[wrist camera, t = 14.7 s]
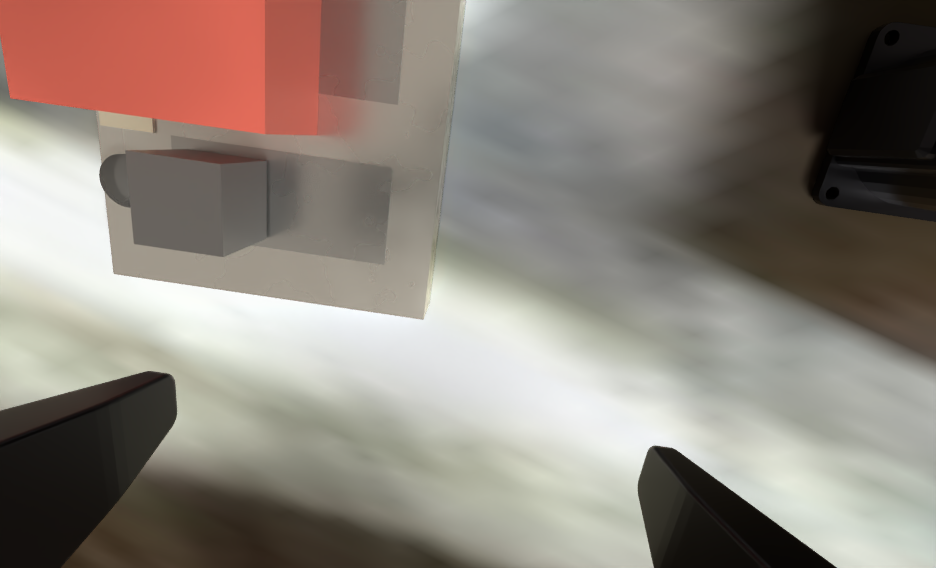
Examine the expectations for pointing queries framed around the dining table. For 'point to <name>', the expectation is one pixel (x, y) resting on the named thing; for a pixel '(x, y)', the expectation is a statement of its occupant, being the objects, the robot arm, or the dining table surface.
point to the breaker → (197, 200)
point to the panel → (327, 169)
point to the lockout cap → (170, 59)
